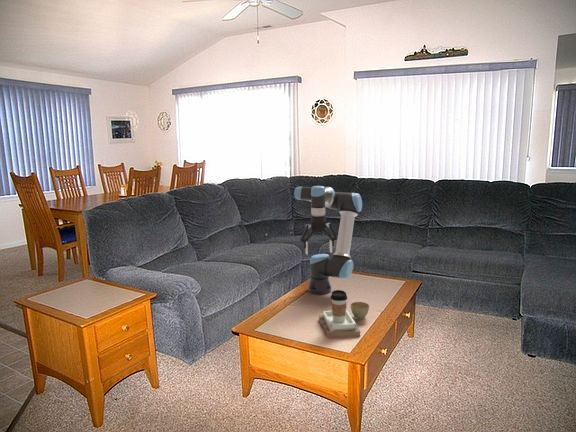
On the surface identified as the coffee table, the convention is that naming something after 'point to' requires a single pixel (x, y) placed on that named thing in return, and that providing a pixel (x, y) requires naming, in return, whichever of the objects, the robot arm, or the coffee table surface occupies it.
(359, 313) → the flower pot
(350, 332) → the shelf board
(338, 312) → the coffee cup
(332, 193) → the robot arm
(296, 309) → the coffee table surface
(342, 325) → the tray
